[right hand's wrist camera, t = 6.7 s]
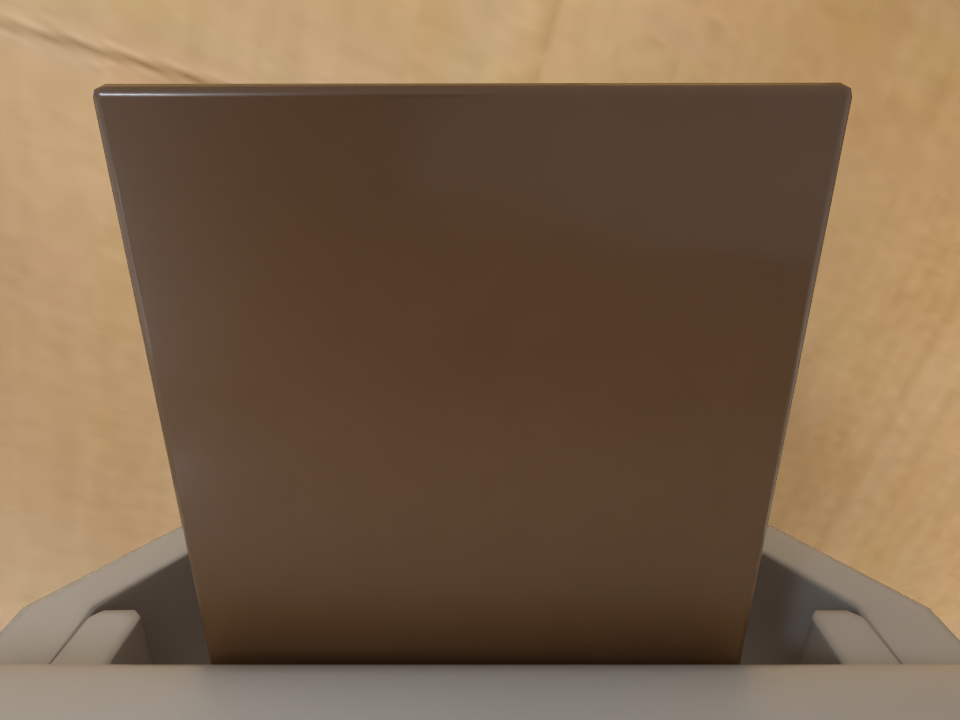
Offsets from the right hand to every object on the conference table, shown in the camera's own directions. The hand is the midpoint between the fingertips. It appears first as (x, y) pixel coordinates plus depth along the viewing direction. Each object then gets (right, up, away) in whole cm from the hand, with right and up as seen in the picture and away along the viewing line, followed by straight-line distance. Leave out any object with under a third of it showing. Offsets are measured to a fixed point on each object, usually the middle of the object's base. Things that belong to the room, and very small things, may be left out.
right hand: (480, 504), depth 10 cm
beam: (0, -18, +10) cm, 20 cm away
